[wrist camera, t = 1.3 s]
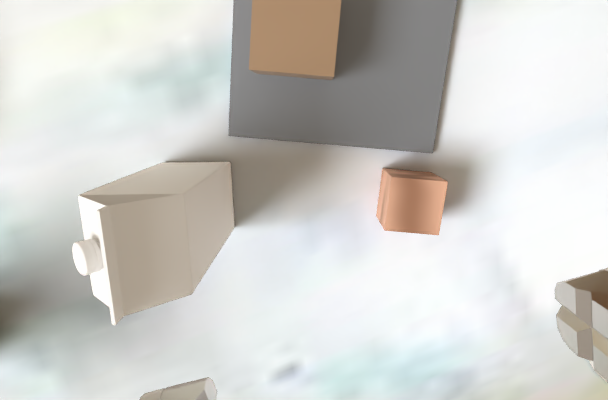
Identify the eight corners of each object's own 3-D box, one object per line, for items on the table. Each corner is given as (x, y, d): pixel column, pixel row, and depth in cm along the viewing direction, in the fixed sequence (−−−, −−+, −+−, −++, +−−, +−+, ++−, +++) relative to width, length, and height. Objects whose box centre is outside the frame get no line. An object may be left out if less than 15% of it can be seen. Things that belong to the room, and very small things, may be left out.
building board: (456, -13, 36) (482, -35, 30) (430, 152, 40) (449, 160, 34) (236, -32, 36) (222, -56, 31) (230, 135, 40) (216, 140, 34)
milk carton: (231, 161, 40) (160, 209, 22) (235, 228, 42) (172, 325, 24) (161, 162, 41) (34, 211, 22) (168, 228, 42) (55, 325, 24)
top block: (431, 172, 40) (448, 181, 35) (424, 219, 41) (438, 235, 37) (382, 168, 40) (391, 177, 35) (376, 215, 41) (384, 230, 37)
